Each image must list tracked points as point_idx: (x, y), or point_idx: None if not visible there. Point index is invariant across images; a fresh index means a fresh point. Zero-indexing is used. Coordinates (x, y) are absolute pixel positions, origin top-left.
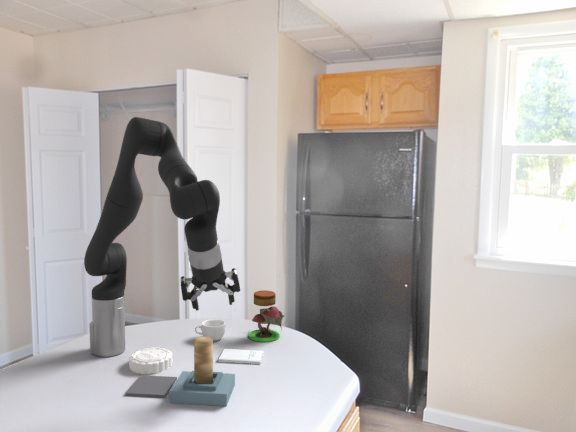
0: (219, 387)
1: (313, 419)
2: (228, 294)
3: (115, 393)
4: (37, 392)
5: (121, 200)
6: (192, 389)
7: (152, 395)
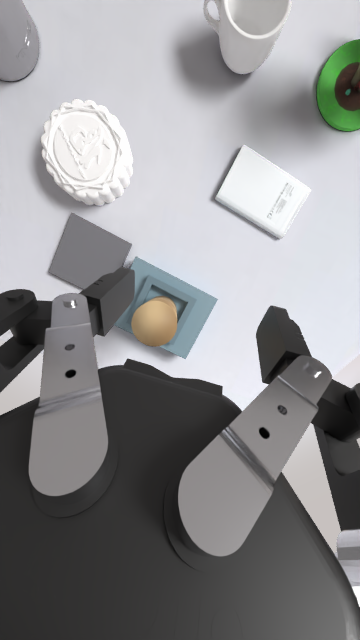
0: (181, 336)
1: None
2: (267, 378)
3: (35, 259)
4: None
5: None
6: None
7: None
